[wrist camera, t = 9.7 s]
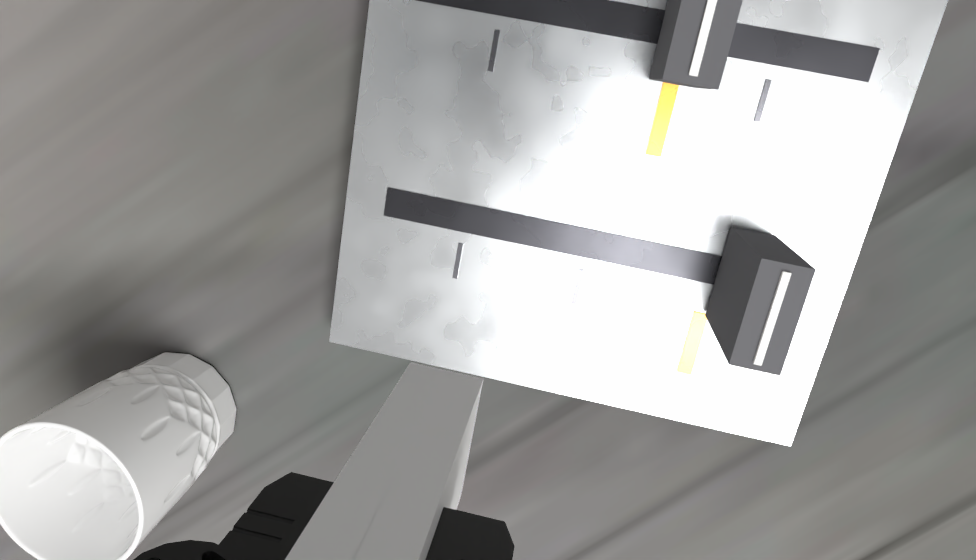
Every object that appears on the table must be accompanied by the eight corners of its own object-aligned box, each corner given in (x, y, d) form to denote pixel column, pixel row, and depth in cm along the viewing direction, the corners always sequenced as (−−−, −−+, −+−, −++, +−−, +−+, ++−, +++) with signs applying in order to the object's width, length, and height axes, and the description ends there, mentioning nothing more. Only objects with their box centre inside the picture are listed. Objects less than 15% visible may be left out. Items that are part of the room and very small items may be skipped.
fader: (674, -29, 29) (695, -56, 23) (722, -20, 29) (756, -46, 23) (648, 79, 30) (662, 79, 24) (694, 87, 30) (719, 89, 24)
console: (396, -112, 32) (383, -125, 30) (934, -22, 30) (959, -29, 28) (342, 328, 38) (328, 342, 36) (780, 427, 36) (791, 447, 34)
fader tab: (730, 226, 32) (762, 259, 26) (775, 235, 31) (817, 270, 26) (704, 315, 33) (729, 366, 27) (747, 324, 33) (781, 377, 27)
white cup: (241, 346, 40) (130, 430, 30) (252, 468, 42) (152, 582, 32) (114, 337, 41) (-31, 415, 31) (131, 456, 43) (0, 564, 33)
